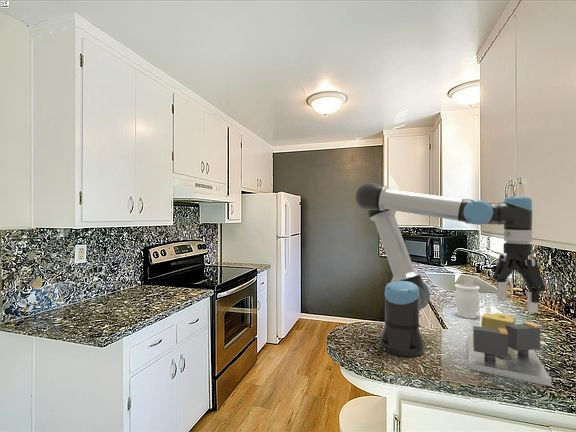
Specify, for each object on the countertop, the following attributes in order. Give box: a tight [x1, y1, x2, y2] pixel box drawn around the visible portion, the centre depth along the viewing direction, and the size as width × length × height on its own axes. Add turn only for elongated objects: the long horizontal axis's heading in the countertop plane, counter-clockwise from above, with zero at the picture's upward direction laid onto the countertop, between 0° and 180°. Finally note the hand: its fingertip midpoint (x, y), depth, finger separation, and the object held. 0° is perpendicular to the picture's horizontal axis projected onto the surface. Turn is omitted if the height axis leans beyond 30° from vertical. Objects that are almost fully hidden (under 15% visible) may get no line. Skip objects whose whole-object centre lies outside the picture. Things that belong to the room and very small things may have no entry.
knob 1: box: [472, 325, 508, 362], centre depth 98 cm, size 9×4×10 cm, turn 61°
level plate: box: [466, 337, 552, 387], centre depth 101 cm, size 20×24×3 cm
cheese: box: [480, 312, 516, 330], centre depth 118 cm, size 10×11×10 cm
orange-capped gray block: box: [506, 321, 541, 357], centre depth 101 cm, size 9×4×10 cm, turn 99°
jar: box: [454, 283, 480, 319], centre depth 150 cm, size 11×10×15 cm
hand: (516, 306), depth 101 cm, fingers open, 13 cm apart
